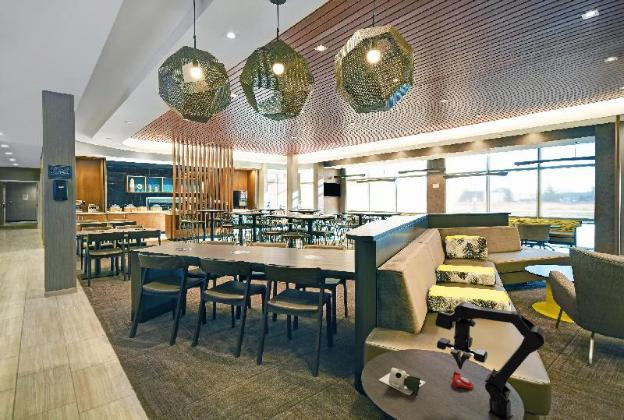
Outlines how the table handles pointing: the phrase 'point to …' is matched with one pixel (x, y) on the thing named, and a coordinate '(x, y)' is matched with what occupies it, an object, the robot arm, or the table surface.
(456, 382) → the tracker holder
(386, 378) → the oatmeal mat
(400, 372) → the character mug
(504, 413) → the robot arm
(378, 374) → the table surface
